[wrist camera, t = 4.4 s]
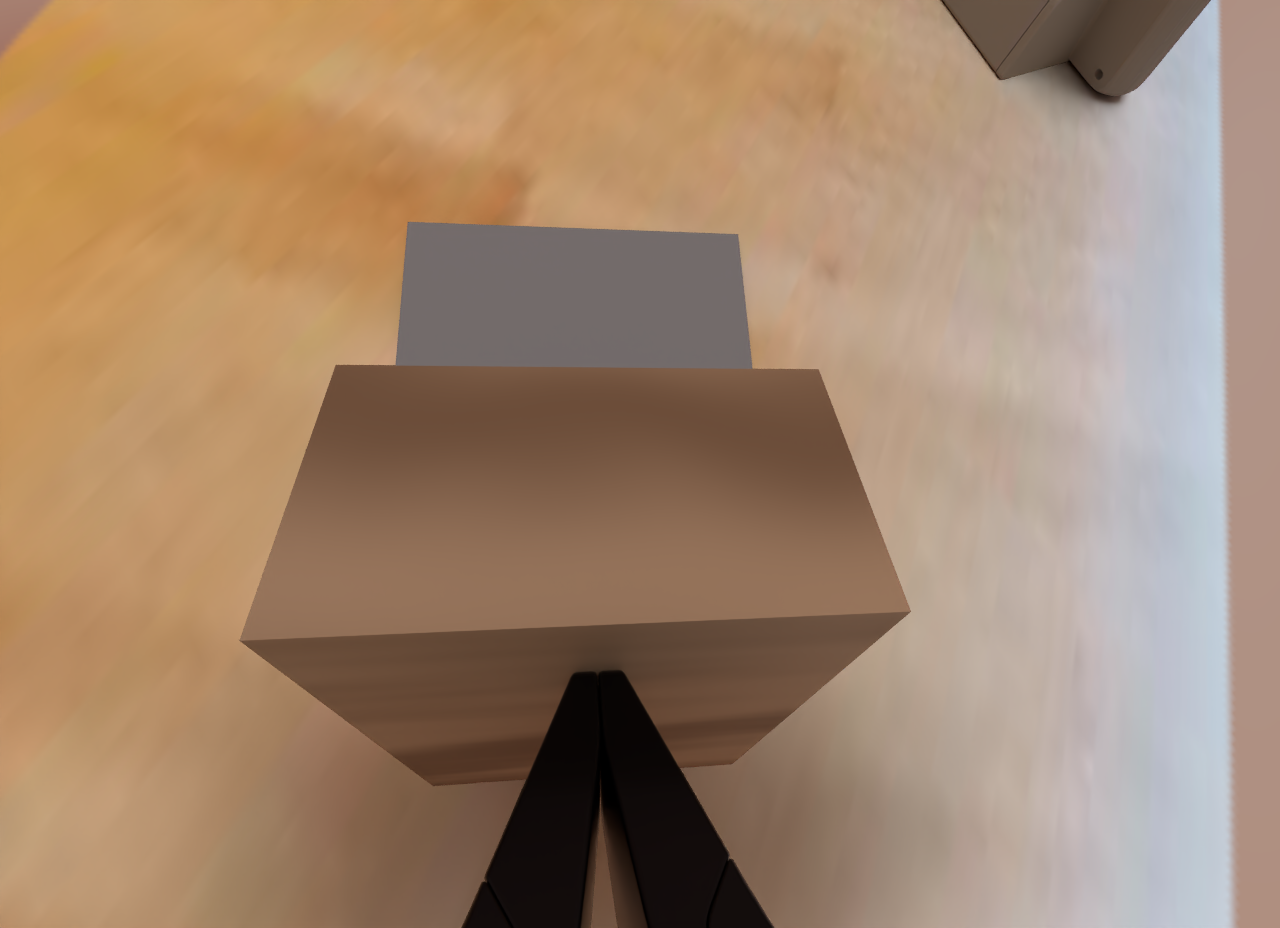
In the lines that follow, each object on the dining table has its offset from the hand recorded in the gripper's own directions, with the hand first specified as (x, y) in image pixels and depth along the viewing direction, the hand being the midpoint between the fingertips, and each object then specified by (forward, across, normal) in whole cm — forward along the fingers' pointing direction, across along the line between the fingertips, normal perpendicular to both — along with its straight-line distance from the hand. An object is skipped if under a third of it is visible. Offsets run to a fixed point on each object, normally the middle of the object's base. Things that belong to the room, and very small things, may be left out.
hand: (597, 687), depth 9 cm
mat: (+15, 0, +1) cm, 15 cm away
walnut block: (+6, 0, +8) cm, 10 cm away
